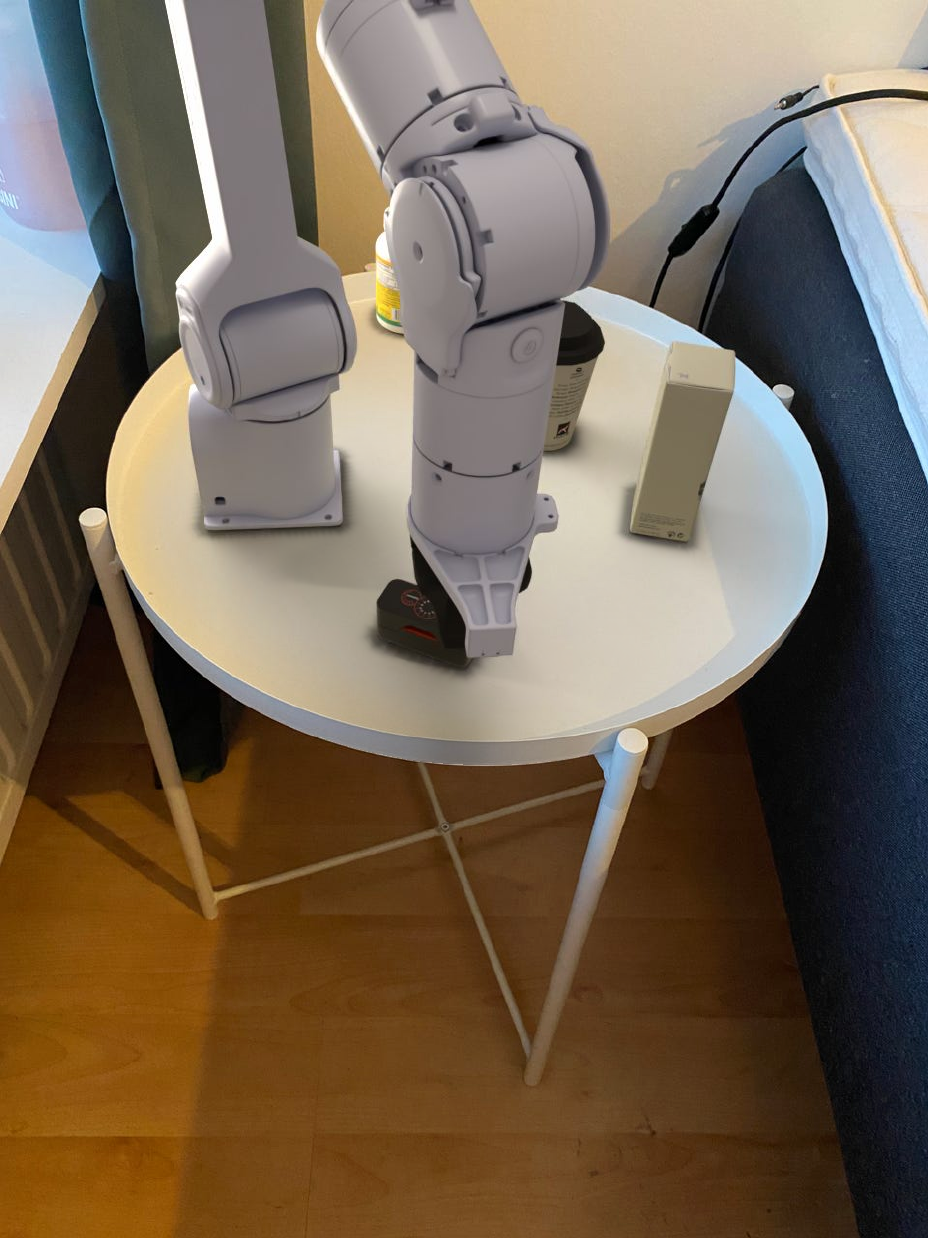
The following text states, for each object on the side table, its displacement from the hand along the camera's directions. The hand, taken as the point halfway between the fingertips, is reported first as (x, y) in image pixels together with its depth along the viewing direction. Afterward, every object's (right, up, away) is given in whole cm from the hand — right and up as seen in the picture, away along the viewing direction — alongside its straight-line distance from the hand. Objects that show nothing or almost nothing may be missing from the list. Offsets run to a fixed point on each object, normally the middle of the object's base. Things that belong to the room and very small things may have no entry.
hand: (461, 638), depth 52 cm
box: (+14, +8, +19) cm, 25 cm away
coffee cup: (+6, +16, +25) cm, 30 cm away
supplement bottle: (-5, +28, +34) cm, 44 cm away
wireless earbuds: (-1, 0, +10) cm, 10 cm away
